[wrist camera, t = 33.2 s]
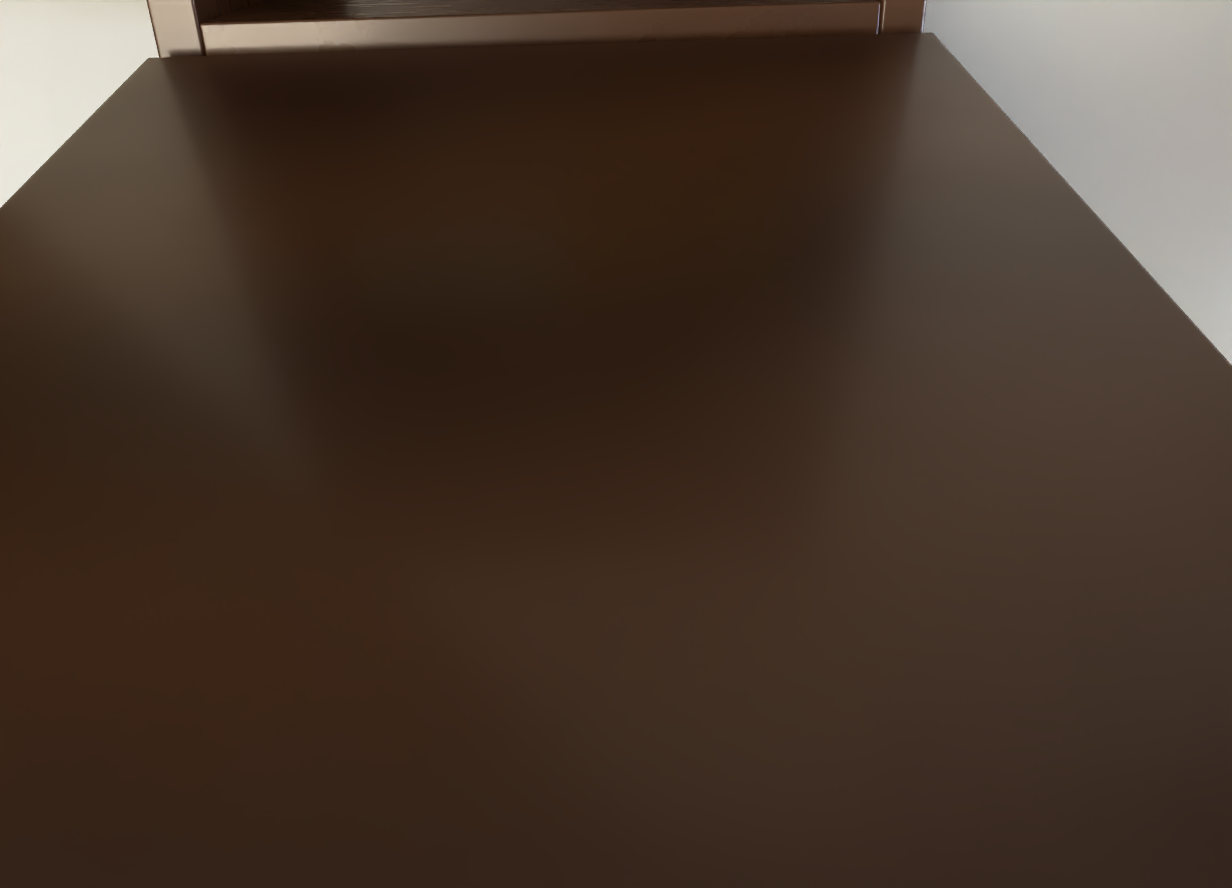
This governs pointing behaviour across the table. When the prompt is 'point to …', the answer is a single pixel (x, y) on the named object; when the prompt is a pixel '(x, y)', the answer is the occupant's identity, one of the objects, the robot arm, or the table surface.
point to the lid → (600, 486)
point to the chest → (503, 23)
